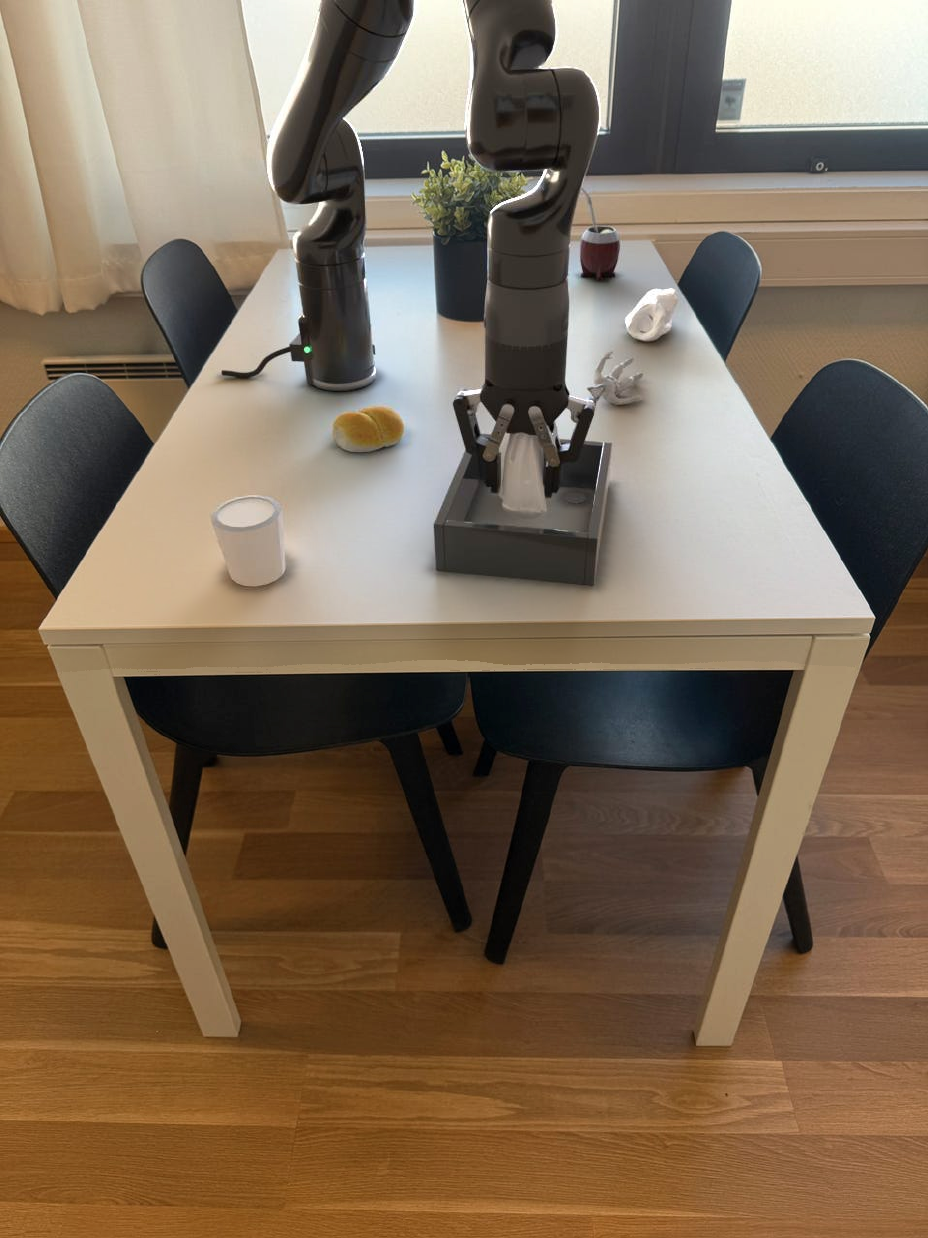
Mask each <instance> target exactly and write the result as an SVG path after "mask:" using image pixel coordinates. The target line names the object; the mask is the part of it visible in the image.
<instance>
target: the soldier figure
mask: <svg viewBox="0 0 928 1238" xmlns="http://www.w3.org/2000/svg"><path fill="white" fill-rule="evenodd" d="M612 354H614V352H613V351H612V350H610V351H608V352H606V353H605V354H604V356H603V357H602V358H601V359H600V361H599V362H598V364H597V366H596V368H595V369H594V380H593V383H594V386H588V387H586V390H587V391H588V392H589V393H590V395H591V397H593V398H594V399H595V400H596V404H598V402H599V401H600V399H601V397H602V398H603V399H604V400H605V401H606V402H608V403H610V404H614V405H615V406H625V405H628V404H632V403H638V402H639V401H641V400H643V399H642V396H641V395H640V394H639V395H638V394H637V395H635V396H632V397H626V398H618V397H617V395H619V394H621V393H623V392H625V391H627V390H628V389H629V388H633V387H635V384H636V381H639V380H641V379H642V378H643V377H644V373H643V372H638V373H637V374H634V375H631V376H630V377H629V378H627V379H625V380H624V381H623V380H622V381H620V382H618V381H619V378H620V375H622V374H623V371H624V369H625V368H626V367H628V366H631V364H633V362H634V358H633V357H628V359H626V360H624V361H622V362H621V363H617V364H616V366H614V367H613V370H612V371H611V372H610V374H608V375H604V376H603V374H602V372H603V370H604V367H605V364H606V361H607V360H611V359H612V358H613V357H611V356H612Z"/></svg>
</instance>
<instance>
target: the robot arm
mask: <svg viewBox="0 0 928 1238" xmlns="http://www.w3.org/2000/svg"><path fill="white" fill-rule="evenodd" d="M419 1H420V0H321V1H320V4H319V7H318V11H317V14H316V18H315V22H314V25H313V29H312V32H311V35H310V37H309V41H308V43H307V46H306V49H305V52H304V55H303V58H302V60H301V62H300V66H299V69H298V71H297V74H296V77H295V80H294V82H293V84H292V86H291V89H290V91H289V93H288V95H287V97H286V100H285V102H284V104H283V106H282V109H281V110H280V112H279V115H278V116H277V119H276V120H275V123H274V126H273V128H272V131H271V134H270V136H269V139H268V143H267V150H266V169H267V175H268V180H269V183H270V186H271V188H272V190H273V191H274V193H275V194H276V196H277V197H278V198H279V199H281V201H282V202H285V203H286V204H289V205H292V206H310V205H315V204H318V207H317V209H316V211H315V213H314V214H313V216H312V217H311V219H310V220H308V222H306V223H305V224H304V225H303V226H302V227H301V228H299V229H298V230H297V231H296V232H295V234H294V236H293V237H292V247H293V254H294V255H293V256H294V261H295V268H296V276H297V283H298V290H299V297H300V304H301V312H302V314H301V315H300V316H299V317H298V319H297V323H298V330H299V333H298V334H297V335H296V337H295V338H294V339H292V341H291V342H290V343H289V344H288V345H289V346H286V347H284V348H280V349H278V350H276V351H273V352H271V353H270V354H267V355H266V356H265V357H264V358H263V359H262V360H261V361H260V363H259V365H258V366H256V369H254V370H251V371H247V372H240V371H233V370H227V369H222V370H221V376H225V377H234V378H239V379H249V378H253V377H255V376H258V375H259V374H260V373H261V372H263V370H264V369H265V368H266V366H267V364H268V363H269V362H271V361H272V360H274V359H275V358H277V357H279V356H282V355H285V354H288V353H290V359H291V362H300V363H303V366H304V373H305V374H304V375H305V379H306V380H305V381H306V385H309V386H314V387H317V388H318V389H321V390H324V391H334V392H344V391H353V390H356V389H357V390H358V389H360V388H361V389H362V388H364V387H366V386H368V385H370V384H372V383H373V382H374V381H375V380H376V378H377V373H376V372H377V370H376V365H375V363H376V362H375V356H376V346H375V344H373V343H374V342H373V334H372V323H371V311H370V302H369V301H370V300H369V290H368V279H367V267H366V258H365V257H366V255H365V247H364V246H365V245H364V243H365V238H366V233H367V208H366V207H367V205H366V203H367V201H366V177H365V162H364V156H363V155H364V154H363V151H362V146H361V142H360V140H359V137H358V134H357V132H356V131H355V128H354V127H353V126H352V124H351V123H350V122H349V121H348V120H347V119H346V118H345V117H347V115H348V114H350V113H351V111H352V110H354V108H355V107H356V106H358V105H359V104H360V103H361V102H362V101H363V100H364V99H365V98H366V97H367V96H368V95H369V94H370V93H371V92H372V91H373V90H375V88H376V87H377V86H378V85H379V84H380V83H381V82H382V80H383V79H384V78H385V77H386V76H387V75H388V74H389V72H390V71H391V69H392V68H393V66H394V65H395V63H396V61H397V60H398V57H399V55H400V53H401V51H402V49H403V47H404V44H405V43H406V40H407V38H408V35H409V33H410V31H411V28H412V26H413V24H414V20H415V18H416V15H417V13H418V9H419ZM461 5H462V10H463V16H464V20H465V25H466V30H467V35H468V40H469V48H470V50H469V51H470V80H469V88H468V95H467V101H466V102H467V103H466V110H465V118H464V119H465V121H464V122H465V123H464V135H465V136H464V137H465V142H466V147H467V149H468V151H469V154H470V155H471V157H472V159H473V160H474V161H475V162H476V164H477V165H478V166H480V168H481V169H483V170H485V171H487V172H488V173H493V174H511V173H523V172H524V173H525V172H538V171H539V172H540V171H543V174H542V176H541V178H540V180H539V181H538V183H537V185H536V186H535V187H534V188H533V189H532V190H530V191H528V192H527V193H525V194H522V195H521V196H518V197H515V198H511V199H508V200H506V201H503V202H501V203H499V204H498V205H496V206H495V207H493V209H492V210H491V211H490V213H489V215H488V220H487V278H486V279H487V282H486V291H485V296H484V297H485V298H484V315H483V328H484V383H483V385H482V387H481V389H476V390H475V389H474V390H469V389H467V388H464V387H463V388H462V387H461V388H459V390H458V391H457V393H456V395H455V396H454V399H453V402H452V407H453V411H454V414H455V418H456V422H457V425H458V428H459V431H460V432H459V433H460V435H461V438H462V439H461V440H462V442H463V446H464V451H465V450H466V452H467V453H468V454H471V455H473V454H478V455H480V456H482V457H483V459H484V461H485V480H484V484H485V487H486V488H490V493H491V494H499V493H500V489H501V487H500V486H501V452H499V447H500V445H501V442H502V440H503V438H504V435H505V433H510V434H516V433H525V434H528V435H535V436H537V437H538V440H539V443H540V446H541V448H543V450H544V453H545V456H546V459H547V463H546V467H545V485H544V494H545V499H552V497H553V494H557V493H558V492H559V489H560V487H561V486H560V480H561V465H562V464H563V463H564V462H568V461H569V462H572V463H574V462H576V461H577V460H578V458H579V455H580V453H581V450H582V447H583V444H584V442H585V441H586V438H587V436H588V434H589V430H590V427H591V425H592V422H593V419H594V416H595V412H596V407H597V403H596V400H595V399H594V398H593V396H587V397H586V398H584V399H583V398H580V397H576V396H574V395H571V394H570V391H569V388H568V387H567V383H566V375H567V374H566V373H567V372H566V371H567V357H568V356H567V354H568V339H569V322H570V321H569V320H570V292H569V265H570V247H571V235H572V234H571V233H572V226H573V222H574V219H575V218H574V217H575V213H576V210H577V205H578V202H579V198H580V193H581V191H582V190H581V187H583V185H584V184H583V183H584V180H585V178H586V174H587V172H588V169H589V166H590V162H591V160H592V157H593V153H594V151H595V147H596V144H597V140H598V136H599V131H600V126H601V103H600V97H599V93H598V90H597V88H596V85H595V83H594V82H593V80H592V78H591V76H589V74H588V73H587V72H586V71H584V70H582V69H580V68H577V67H573V66H563V67H561V66H559V67H547V68H541V67H542V66H543V65H544V64H545V63H546V62H547V61H548V60H549V58H551V56H552V54H553V52H554V50H555V47H556V44H557V38H558V27H557V19H556V13H555V9H554V5H553V0H461ZM480 403H481V404H482V405H483V406H484V408H485V410H486V411H487V412H488V413H489V415H490V416H491V418H492V419H493V421H494V422H495V424H494V426H493V428H492V431H491V433H490V434H491V436H490V439H489V440H488V439H486V438H483V437H482V436H481V434H482V433H481V430H480V426H479V425H480V424H479V422H478V418H477V414H476V413H477V412H478V409H479V404H480ZM566 409H567V410H569V412H570V420H571V422H573V423H575V425H574V429H573V430H572V435H571V436H570V439H569V440H570V443H569V444H564V445H561V443H560V440H559V439H560V437H559V434H558V426H557V424H556V420H557V419H558V418H559V417H560V416H561V415H562V414H563V413H564V411H565V410H566Z"/></svg>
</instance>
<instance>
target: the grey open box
mask: <svg viewBox="0 0 928 1238" xmlns="http://www.w3.org/2000/svg"><path fill="white" fill-rule="evenodd" d="M491 434H492V433H481V436H482V437H483V438H486V439H488V440H489V439H490V436H491ZM559 440H560V443H561V445H564V444H569V443H570V440H571V439H568V438H567V439H565V438H559ZM612 451H613V442H607V441H596V440H595V441H594V440H585V442H584V444H583V447H582V450H581V453H580V455H579V458H578V460H577V461H576V462H574V463H572V462H569V461H568V462H564V463H563V464H562V465H561V480H560V486H559V487H569V488H583V489H595V491H594V494H593V495H594V496H593V501H592V507H591V514H590V519H589V526H588V532H586V531H576V530H575V531H574V530H563V529H553V528H551V529H550V528H542V527H541V528H540V527H528V526H517V525H507V524H506V525H505V524H495V523H494V524H493V523H482V522H472V521H471V522H470V521H465V520H466V517H467V514H468V511H469V509H470V507H471V504H472V501H473V498H474V496H475V493H476V491H477V488H478V485H479V482H480V480H482V481H485V461H484V459H483V457H482V456H480V455H478V454H473V455H471V454H468V453H467V452H466V450H465V449H464V452H463V454H462V457H461V459H460V462H459V464H458V466H457V468H456V470H455V473H454V475H453V478H452V479H451V483H450V485H449V487H448V489H447V492H446V494H445V496H444V499H443V501H442V503H441V506H440V507H439V511H438V513H437V515H436V518H435V520H434V522H433V540H434V541H433V542H434V558H435V570H436V571H442V572H452V573H463V574H471V575H472V574H473V575H480V576H481V575H482V576H483V575H484V576H492V577H502V578H513V579H522V580H523V579H524V580H534V581H544V582H554V583H555V582H556V583H563V584H564V583H566V584H576V585H584V586H585V585H586V586H594V585H595V580H596V575H597V567H598V561H599V554H600V547H601V542H602V541H601V540H602V534H603V528H604V527H603V526H604V522H605V521H604V520H605V513H606V507H607V500H608V499H607V498H608V493H609V486H610V475H611V465H612V463H611V462H612V453H613V452H612ZM543 454H544V461H543V462H544V463H543V486H545V467H546V463H547V459H546V456H545V453H544V450H543ZM564 500H565V501H566V502H567V503H568V504H569V503H570V504H573V505H578V504H582V503H584V502H586V500H587V497H586V495H585V494H584V493H582V492H577V491H572V492H569V493H567V494H565V495H564Z"/></svg>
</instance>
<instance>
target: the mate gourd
mask: <svg viewBox="0 0 928 1238" xmlns="http://www.w3.org/2000/svg"><path fill="white" fill-rule="evenodd" d="M581 191H582V193H583V194H584V196H585V197H586V203H587V205H588V209H589V212H590V217H591V222H592V226H589V227H588V228H586V229H585V231H584V232H583V234H582V235H581V240H580V245H579V258H580V259H579V261H580V266H581V271H582V272H580V277H582V278H584V277H585V278H586V277H589V278H590V277H595V278H596V281H597V282H602V281H603V277H615V276H616V270H615V269H616V267H617V264H618V261H619V257H620V256H619V254H620V250H621V241H620V236H619V234H618V231H617V230H616V229H615V228H614V227H612V226H607V225H597V221H596V217H595V212H594V208H593V199H592V197H591V196H590V194H589V193H588V191H587V190H586V188H585V187H583V186H582V187H581Z"/></svg>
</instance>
